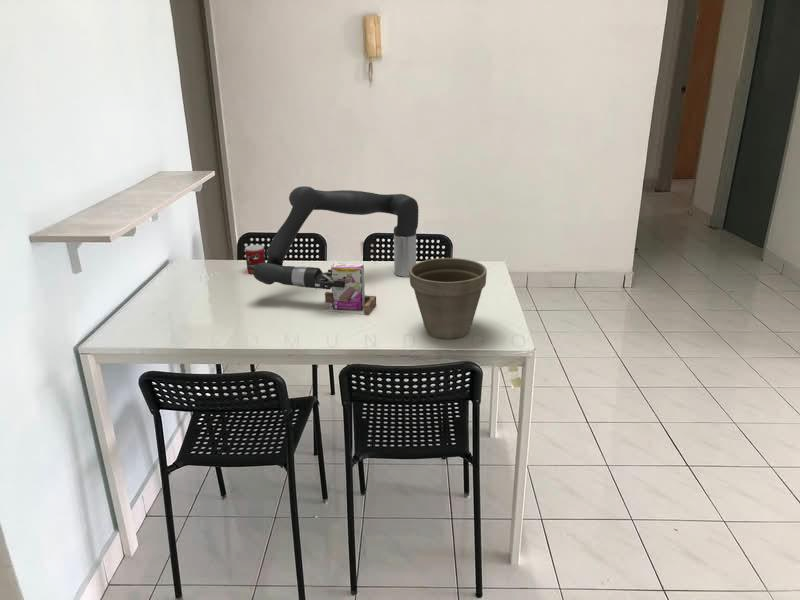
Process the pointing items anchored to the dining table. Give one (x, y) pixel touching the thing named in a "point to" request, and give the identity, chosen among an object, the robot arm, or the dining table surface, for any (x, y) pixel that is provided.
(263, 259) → the canned food
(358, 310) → the pad
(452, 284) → the plant pot
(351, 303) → the candy bar box
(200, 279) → the dining table surface
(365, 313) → the brown l-shaped piece
